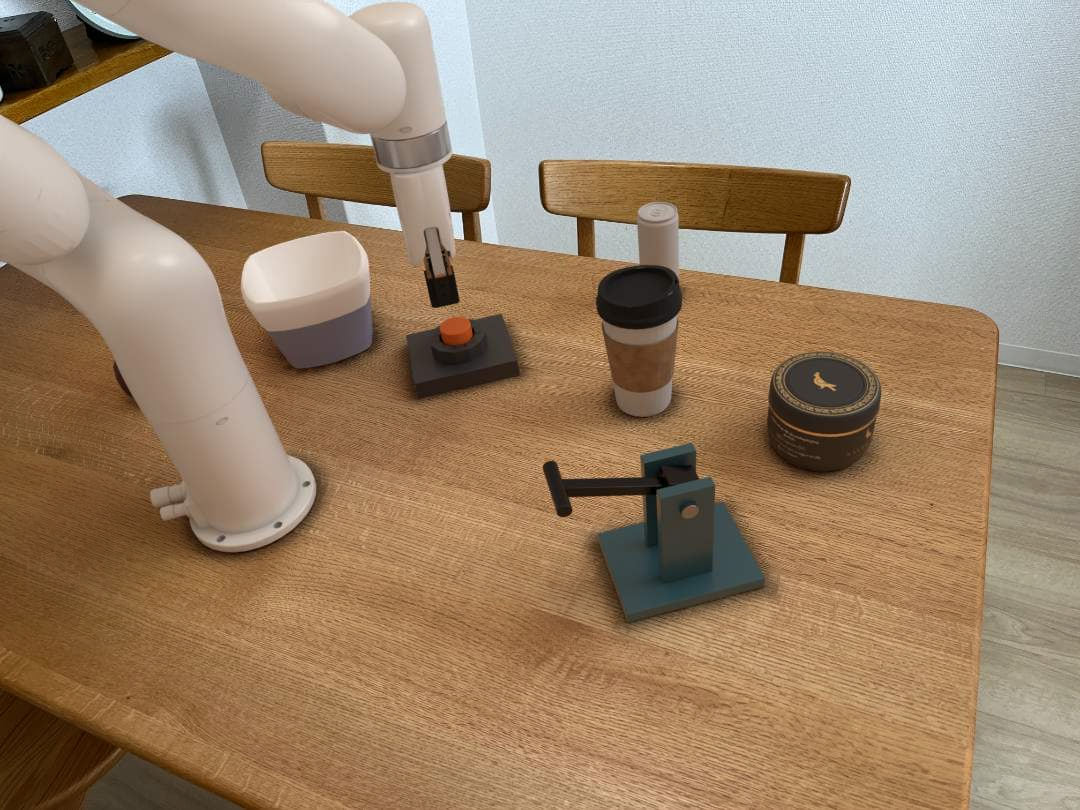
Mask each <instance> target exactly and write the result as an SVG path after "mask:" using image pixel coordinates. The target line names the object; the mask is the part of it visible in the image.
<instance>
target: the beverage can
mask: <svg viewBox="0 0 1080 810" xmlns="http://www.w3.org/2000/svg"><path fill="white" fill-rule="evenodd" d="M636 225H637V226H636V227H637V244H638V245H637V246H638V256H639V257H638V260H639V261H638V262H639V265H658V266H664V267H667V268H669V269H671V270H673V271H674V272H675V274H676V275H677V277H678V279H679V280H680V252H679V251H680V247H679V246H680V245H679V243H680V241H679V240H680V239H679V237H680V236H679V235H680V234H679V229H680V228H679V227H680V226H679V213H678V208H677V206H676V205H674V204H672V203H670V202H666V201H653V202H649V203H646V204H644V205H642V206H640V207H639V209H638V211H637V217H636Z"/></svg>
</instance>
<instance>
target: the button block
mask: <svg viewBox="0 0 1080 810" xmlns="http://www.w3.org/2000/svg"><path fill="white" fill-rule="evenodd" d="M467 319H468V320H469V321H470V324H471V329H472V333H473V336H472V339H471V340H470V341H468V342H466V343H465V344H461V345H457V346H450V345H446V344H444V343H443V341H442V337H441V333H440V325H438V326H436V327H435V328H432V329H427V330H422V331H418V332H413V333H409V334H406V343H407V349H408V354H409V360H410V367H411V373H412V380H413V385H414V389H415V393H416V395H417V399H423V398H426V397H430V396H435V395H439V394H443V393H447V392H452V391H456V390H461V389H465V388H468V387H474V386H477V385H483V384H487V383H490V382H494V381H499V380H504V379H507V378H513V377H517V376H520V375H521V374H520V367H519V362H518V361H519V360H518V358H517V355H516V352H515V348H514V346H513V343H512V340H511V337H510V334H509V331H508V328H507V324H506V322H505V319H504V315H503V313H497V314H493V315H489V316H483V317H479V318H475V319H473V318H467Z"/></svg>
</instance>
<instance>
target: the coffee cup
mask: <svg viewBox="0 0 1080 810" xmlns="http://www.w3.org/2000/svg"><path fill="white" fill-rule="evenodd" d="M680 285H681V284H680V278H679V279H678V277H677V275H676V274H675V272H674V271H673V270H671V269H669V268H667V267H664V266H658V265H640V264H639V265H632V266H625V267H621V268H619V269H616V270H614V271H611V272H610V273H608V274H607V275H605V276H604V277H603V278H602V279H601V280H600V281H599V283H598V285H597V295H596V298H595V305H596V307H595V308H596V312H597V314H598V316H599V317H600V319H601V320H602V321H601V331H602V337H603V342H604V345H605V350H606V351H605V352H606V355H607V360H608V361H607V362H608V366H609V370H610V374H611V379H612V384H613V390H614V396H615V400H616V405H617V406H618V408H619V409H620V410H621V411H622V412H624V413H625V414H627V415H630V416H633V417H638V418H639V417H641V418H644V417H645V418H646V417H652V416H655V415H659V414H660V413H662V412H663V411H665V410H666V409H667V408H668V407H669V405H670V403H671V399H672V393H673V380H674V379H673V378H674V373H675V372H674V371H675V364H676V363H675V362H676V354H677V344H678V334H679V324H680V321H679V317H678V315H679V313H680V311H681V309H682V307H683V293H682V291H681V287H680Z"/></svg>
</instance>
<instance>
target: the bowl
mask: <svg viewBox="0 0 1080 810" xmlns="http://www.w3.org/2000/svg"><path fill="white" fill-rule="evenodd" d="M370 276H371V275H370V262H369V256H368V254H367V252H366V250H365V248H364V247H363V246H362V244H361V243H360V242H359V240H358V239H357V238H356V237H355V236H353V234H350V233H349V232H347V231H345V230H339V231H338V230H337V231H328V232H322V233H316V234H313V235H308V236H307V235H306V236H303V237H299V238H294V239H291V240H288V241H285V242H281V243H278V244H275V245H272V246H270V247H266V248H264V249H261V250H259V251H257V252H255V253H252V254H250V255H249V256H248V258H247V259H246V261H245V263H244V265H243V269H242V272H241V276H240V277H241V278H240V292H241V297H242V300H243V302H244V304H245V306H246V308H247V309H248V310H249V312H250V313H251V315H253V317H254V318H255V320H256V321H257V322H258V323H259V325H260V326H261V327H262V328H263V330H264V331H265V332H266V334H267V335H268V337H270V339H271V340H272V342H273V343H274V344H275V346H276V347H277V348H278V350H279V351H280V353H282V355H283V356H284V357H285V359H286V360H287V362H288V363H289V364H290V365H291V366H292V367H293V368H295V369H309V368H314V367H321V366H327V365H331V364H334V363H337V362H340V361H343V360H346V359H349V358H351V357H353V356H356V355H358V354H360V353H362V352H364V351H366V350H367V349H369V348H370V347H371V345H372V342H373V334H374V333H373V330H374V329H373V313H372V299H371V278H370Z"/></svg>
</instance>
